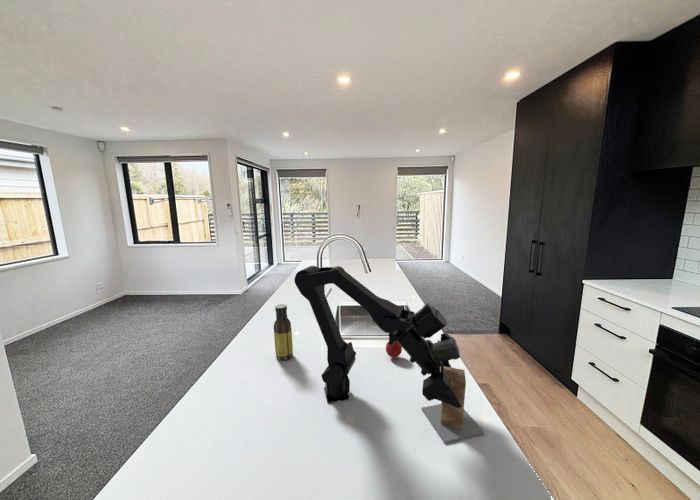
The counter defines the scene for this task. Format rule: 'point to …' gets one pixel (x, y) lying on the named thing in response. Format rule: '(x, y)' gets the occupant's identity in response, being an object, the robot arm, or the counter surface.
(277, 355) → the sauce bottle
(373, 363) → the counter surface
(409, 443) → the counter surface
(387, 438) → the counter surface
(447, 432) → the coaster
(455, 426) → the block
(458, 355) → the robot arm
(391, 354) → the onion
